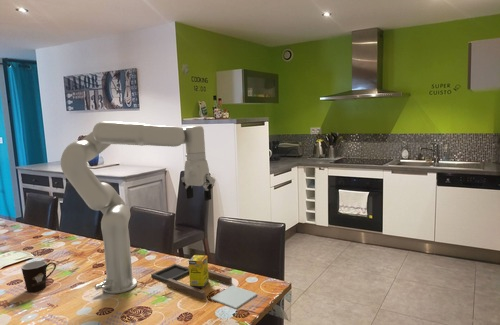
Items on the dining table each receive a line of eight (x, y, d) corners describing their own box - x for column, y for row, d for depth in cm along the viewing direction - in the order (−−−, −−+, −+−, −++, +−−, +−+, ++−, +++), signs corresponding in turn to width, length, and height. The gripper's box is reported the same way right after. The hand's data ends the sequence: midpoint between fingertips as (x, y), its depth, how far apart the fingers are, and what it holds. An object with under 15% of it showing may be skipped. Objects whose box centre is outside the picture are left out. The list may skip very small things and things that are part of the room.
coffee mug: (22, 296, 136) (19, 271, 135) (24, 287, 143) (22, 263, 142) (57, 288, 141) (54, 264, 140) (57, 280, 149) (55, 257, 147)
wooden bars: (202, 299, 128) (202, 293, 128) (167, 285, 140) (166, 279, 140) (231, 283, 141) (231, 277, 140) (196, 271, 153) (196, 265, 153)
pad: (236, 308, 121) (236, 307, 121) (210, 299, 128) (210, 297, 128) (257, 294, 130) (257, 293, 130) (232, 286, 138) (232, 285, 138)
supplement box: (204, 288, 137) (202, 261, 136) (189, 287, 138) (188, 260, 137) (209, 281, 143) (207, 255, 142) (194, 280, 144) (193, 254, 143)
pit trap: (168, 283, 142) (168, 280, 142) (151, 277, 149) (151, 274, 149) (192, 272, 152) (192, 269, 152) (175, 266, 159) (175, 263, 159)
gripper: (173, 157, 144) (177, 199, 146) (206, 158, 134) (209, 202, 136) (186, 155, 150) (189, 195, 152) (218, 156, 140) (221, 198, 142)
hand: (199, 198), depth 144 cm, fingers open, 9 cm apart
